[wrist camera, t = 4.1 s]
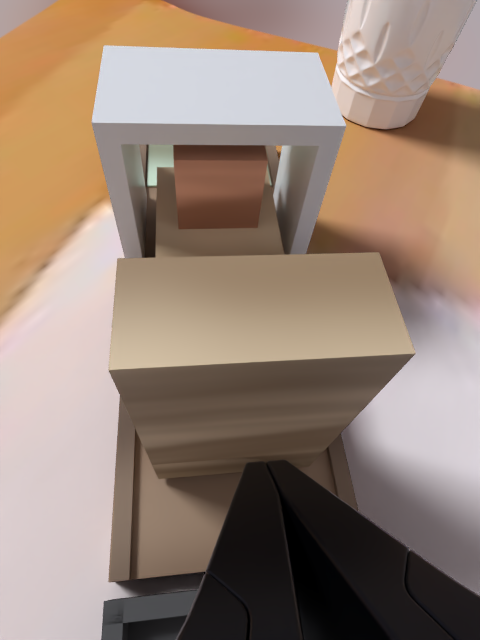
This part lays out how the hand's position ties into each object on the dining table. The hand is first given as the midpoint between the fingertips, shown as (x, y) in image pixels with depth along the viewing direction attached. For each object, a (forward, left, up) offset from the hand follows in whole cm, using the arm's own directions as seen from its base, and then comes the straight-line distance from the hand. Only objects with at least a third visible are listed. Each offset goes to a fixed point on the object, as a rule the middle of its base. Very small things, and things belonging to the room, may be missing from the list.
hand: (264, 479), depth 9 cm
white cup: (+22, -22, -8) cm, 32 cm away
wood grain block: (+8, -3, -7) cm, 11 cm away
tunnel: (+13, -5, -8) cm, 16 cm away
